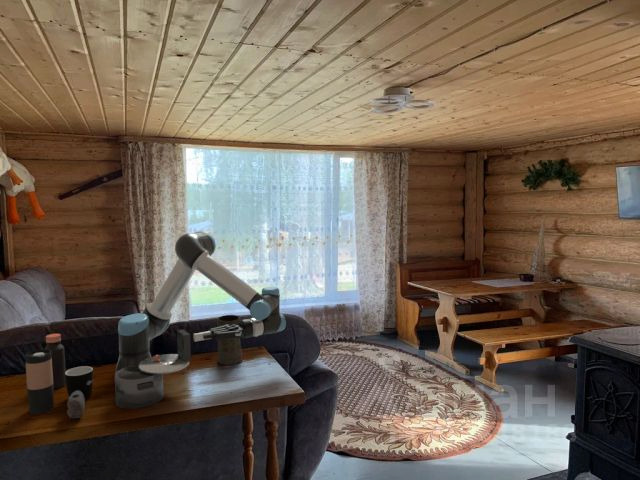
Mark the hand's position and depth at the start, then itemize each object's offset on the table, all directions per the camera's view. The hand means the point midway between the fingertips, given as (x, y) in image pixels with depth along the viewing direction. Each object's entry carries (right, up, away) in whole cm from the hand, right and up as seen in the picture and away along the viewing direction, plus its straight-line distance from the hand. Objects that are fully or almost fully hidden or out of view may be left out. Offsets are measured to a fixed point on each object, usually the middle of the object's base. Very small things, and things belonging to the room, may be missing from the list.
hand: (194, 337), depth 172 cm
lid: (-10, -9, -5) cm, 14 cm away
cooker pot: (-17, -20, -10) cm, 28 cm away
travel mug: (-47, -21, -18) cm, 55 cm away
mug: (-39, -20, -7) cm, 45 cm away
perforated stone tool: (-34, -21, -20) cm, 45 cm away
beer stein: (+8, -17, +30) cm, 35 cm away
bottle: (-54, -19, +2) cm, 57 cm away
